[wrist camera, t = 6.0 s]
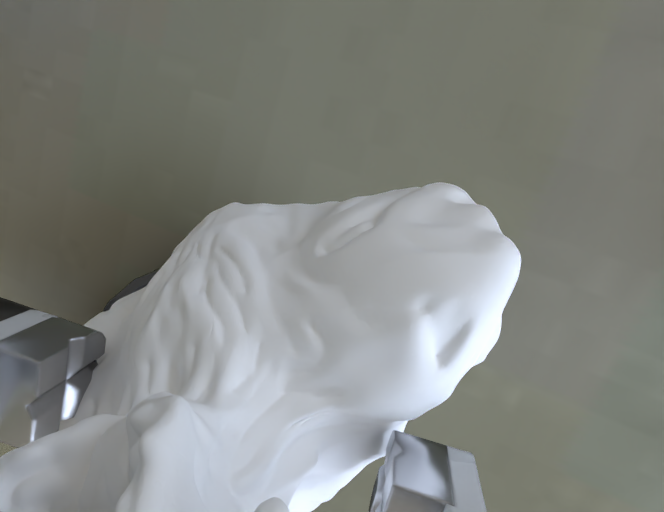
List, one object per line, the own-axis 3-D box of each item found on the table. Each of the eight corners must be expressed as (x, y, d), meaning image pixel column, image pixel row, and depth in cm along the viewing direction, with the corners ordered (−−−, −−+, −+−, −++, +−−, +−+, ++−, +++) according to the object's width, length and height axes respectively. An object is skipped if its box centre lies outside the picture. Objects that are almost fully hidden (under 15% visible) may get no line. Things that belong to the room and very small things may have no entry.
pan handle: (-18, 310, 30) (-44, 320, 29) (-16, 286, 30) (-42, 294, 28) (109, 355, 29) (90, 367, 28) (113, 330, 29) (94, 341, 27)
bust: (178, 351, 17) (87, 819, 9) (-7, 219, 12) (-542, 977, 4) (488, 234, 14) (752, 787, 6) (408, -7, 9) (1245, 1238, 1)
